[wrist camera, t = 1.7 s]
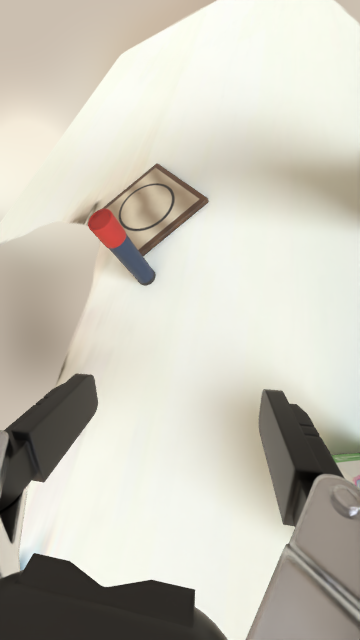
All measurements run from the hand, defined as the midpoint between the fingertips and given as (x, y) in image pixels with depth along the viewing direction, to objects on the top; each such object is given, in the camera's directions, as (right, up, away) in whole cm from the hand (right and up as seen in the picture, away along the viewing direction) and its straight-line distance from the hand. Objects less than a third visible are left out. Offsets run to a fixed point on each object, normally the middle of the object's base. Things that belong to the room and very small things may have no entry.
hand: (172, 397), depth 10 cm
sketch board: (-6, +24, +29) cm, 38 cm away
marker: (-5, +10, +23) cm, 26 cm away
